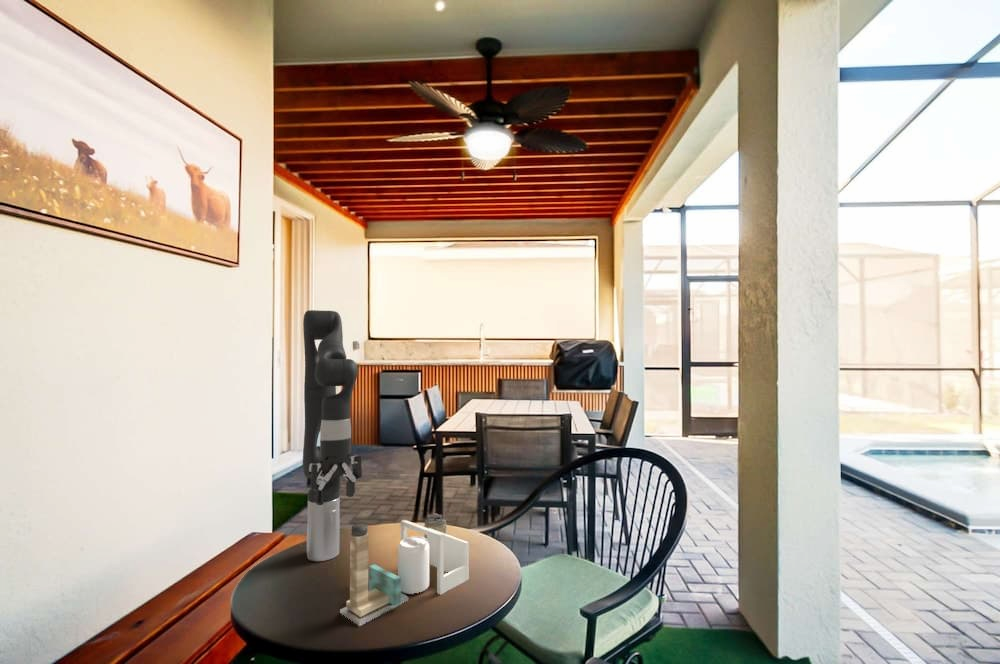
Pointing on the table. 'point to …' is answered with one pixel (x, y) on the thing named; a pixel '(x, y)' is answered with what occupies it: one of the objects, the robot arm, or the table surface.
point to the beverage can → (413, 564)
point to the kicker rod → (380, 580)
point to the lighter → (435, 523)
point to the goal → (444, 556)
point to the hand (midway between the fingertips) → (334, 500)
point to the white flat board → (371, 615)
